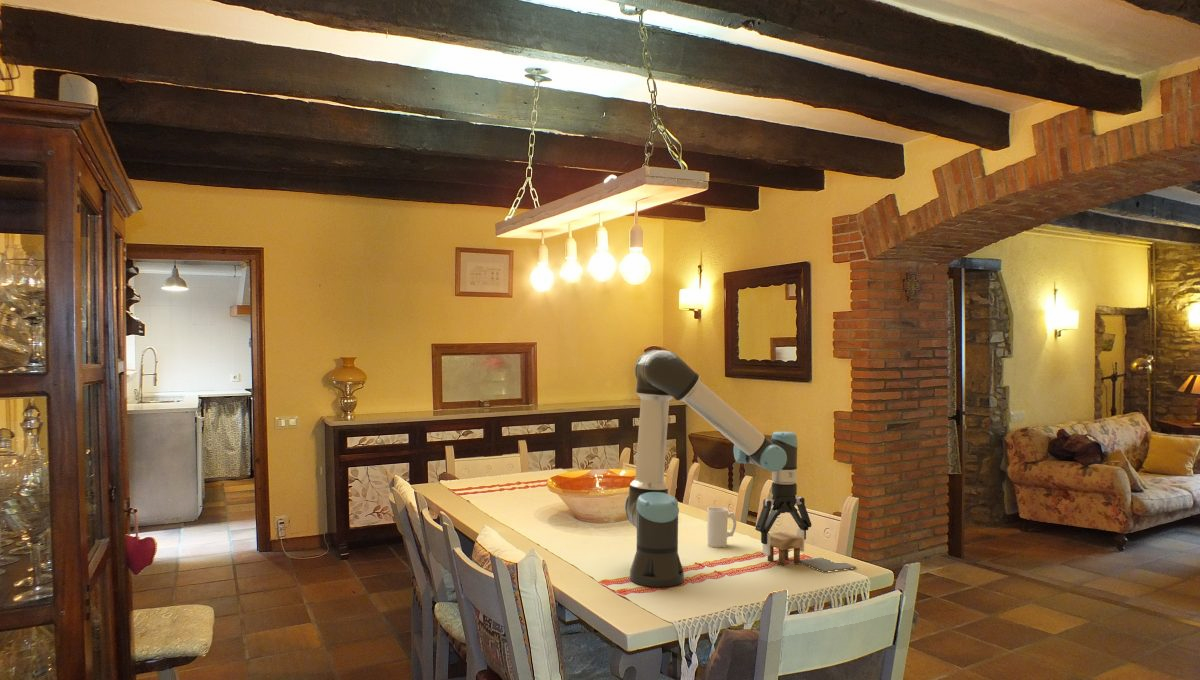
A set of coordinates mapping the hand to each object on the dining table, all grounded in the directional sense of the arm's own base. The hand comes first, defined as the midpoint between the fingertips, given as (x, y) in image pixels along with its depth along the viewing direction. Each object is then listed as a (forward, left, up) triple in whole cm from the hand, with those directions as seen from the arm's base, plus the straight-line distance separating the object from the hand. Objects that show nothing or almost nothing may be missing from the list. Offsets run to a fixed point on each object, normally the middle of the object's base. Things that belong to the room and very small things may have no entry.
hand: (783, 552), depth 234 cm
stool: (0, 0, -3) cm, 3 cm away
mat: (+10, -8, -3) cm, 13 cm away
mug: (-7, +24, -3) cm, 25 cm away
